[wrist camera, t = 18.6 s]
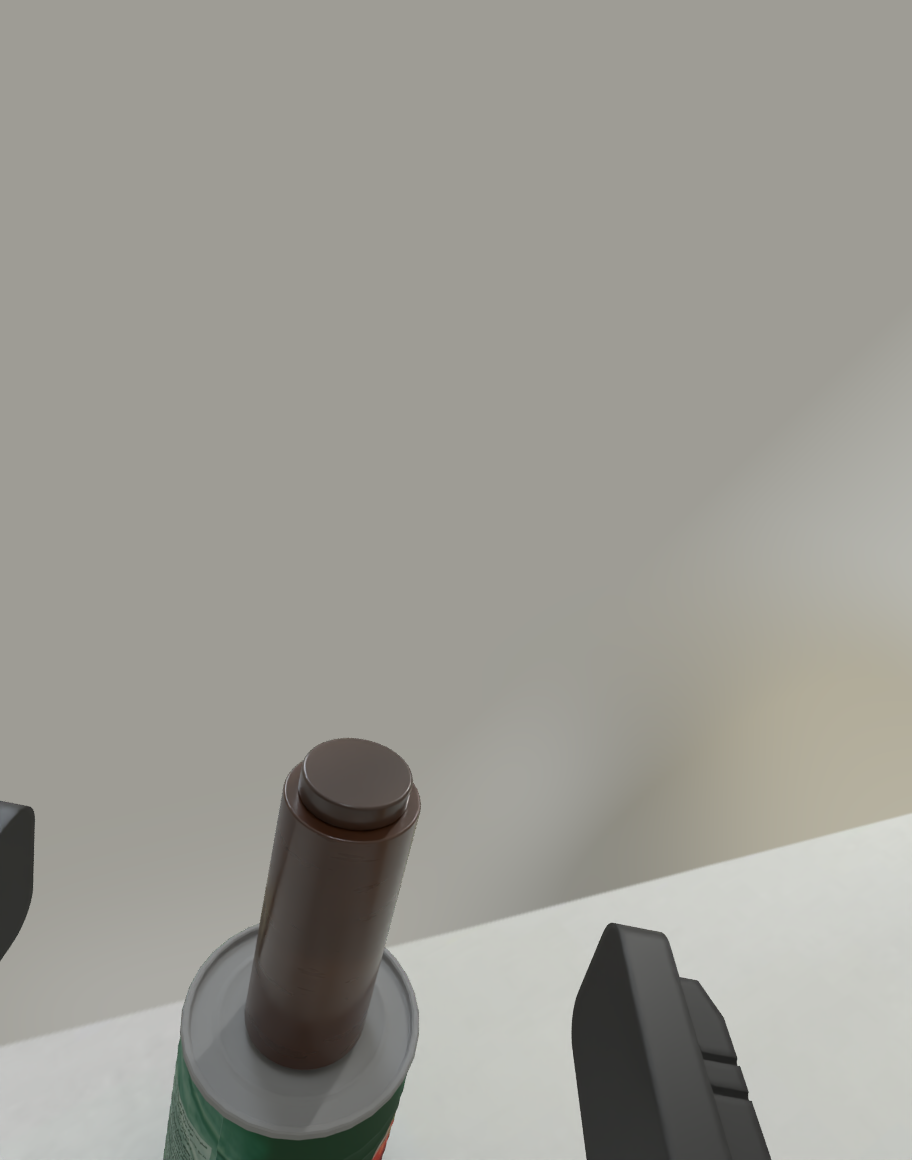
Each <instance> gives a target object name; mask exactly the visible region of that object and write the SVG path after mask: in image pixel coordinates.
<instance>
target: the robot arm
mask: <svg viewBox="0 0 912 1160" xmlns="http://www.w3.org/2000/svg"><path fill="white" fill-rule="evenodd" d="M34 827H35V816H34V811H33V809H32V808H31V807H29V806H24V805H18V804H14V803H9V802H3V801H0V960H1V959H2V958H3V956H4V955H5V953H6V952H7V950H8V949H9V947H10V946H11V944H12V943H13V941H14V940H15V938H16V936H17V935H18V933H19V931H20V929H21V927H22V925H23V923H24V920H25V918H26V915H27V912H28V909H29V906H30V903H31V898H32V893H33V866H34V865H33V864H34V863H33V862H34V829H35V828H34ZM572 1049H573V1057H574V1064H575V1072H576V1080H577V1088H578V1095H579V1103H580V1111H581V1119H582V1127H583V1134H584V1142H585V1150H586V1158H587V1160H771V1157H770V1154H769V1151H768V1148H767V1145H766V1142H765V1139H764V1136H763V1133H762V1130H761V1127H760V1124H759V1122H758V1119H757V1116H756V1113H755V1110H754V1107H753V1104H752V1101H749V1099H748V1093H749V1092H748V1089H747V1086H746V1083H745V1080H744V1077H743V1074H742V1071H741V1068H740V1066H737V1056H736V1053H735V1050H734V1047H733V1044H732V1041H731V1038H730V1035H729V1032H728V1029H727V1026H726V1023H725V1020H724V1018H723V1016H722V1015H721V1013H720V1012H719V1010H718V1009H717V1007H716V1006H715V1005H714V1003H713V1002H712V1000H711V999H710V997H709V996H708V995H707V993H706V992H705V990H704V989H703V987H702V986H701V984H700V983H699V982H698V981H697V980H692V979H686V978H681V977H679V974H678V971H677V967H676V964H675V961H674V957H673V954H672V950H671V947H670V944H669V941H668V939H667V937H666V936H665V935H664V934H663V933H662V932H657V931H652V930H646V929H641V928H636V927H631V926H626V925H621V924H616V923H610V924H608V925H607V927H606V928H605V930H604V932H603V934H602V936H601V939H600V941H599V944H598V946H597V948H596V951H595V953H594V956H593V958H592V960H591V963H590V965H589V968H588V970H587V972H586V975H585V977H584V980H583V982H582V984H581V987H580V989H579V992H578V994H577V997H576V1001H575V1005H574V1010H573V1017H572Z"/></svg>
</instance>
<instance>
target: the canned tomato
mask: <svg viewBox="0 0 912 1160" xmlns="http://www.w3.org/2000/svg"><path fill="white" fill-rule="evenodd" d="M259 925H260V923H259V924H256V925H254V926H251V927H248V928H247V929H245V930H243V931H241V932H239V933H238V934H236V935H234V936H232V937H231V938H229V939H228V940H227V941H226V942H224V943H223V944H222V945H221V946H220V947H218V948H217V949H216V950H215V951H214V952H213V953H212V954H211V955H210V956H209V958H208V959H207V960H206V961H205V962H204V964H203V965H202V966H201V967H200V969H199V970H198V972H197V974H196V976H195V978H194V979H193V982H192V983H191V985H190V987H189V990H188V993H187V996H186V999H185V1002H184V1006H183V1009H182V1017H181V1029H180V1041H179V1045H178V1055H177V1061H176V1069H175V1076H174V1083H173V1091H172V1098H171V1106H170V1113H169V1120H168V1128H167V1135H166V1143H165V1149H164V1158H163V1160H382V1155H383V1153H384V1151H385V1147H386V1142H387V1140H388V1137H389V1134H390V1130H391V1126H392V1124H393V1121H394V1117H395V1113H396V1110H397V1108H398V1105H399V1100H400V1096H401V1094H402V1092H403V1088H404V1083H405V1079H406V1075H407V1072H408V1070H409V1068H410V1066H411V1063H412V1061H413V1059H414V1056H415V1051H416V1046H417V1041H418V1036H419V1011H418V1007H417V1002H416V997H415V993H414V990H413V988H412V986H411V983H410V981H409V979H408V976H407V974H406V973H405V971H404V970H403V968H402V967H401V965H400V964H399V962H398V961H397V959H396V958H395V957H394V956H393V955H392V954H391V953H390V952H389V951H388V950H387V949H386V948H384V951H383V955H382V959H381V963H380V967H379V971H378V974H377V978H376V982H375V986H374V990H373V994H372V997H371V1001H370V1005H369V1009H368V1013H367V1016H366V1020H365V1024H364V1028H363V1031H362V1033H361V1036H360V1038H359V1039H358V1041H357V1043H356V1044H355V1046H354V1047H353V1048H352V1049H351V1050H350V1051H349V1052H348V1053H347V1054H346V1055H345V1056H344V1057H342V1058H341V1059H340V1060H338V1061H336V1062H334V1063H333V1064H330V1065H328V1066H325V1067H322V1068H318V1069H312V1070H297V1069H290V1068H286V1067H283V1066H281V1065H278V1064H276V1063H274V1062H272V1061H271V1060H269V1059H268V1058H266V1057H265V1056H264V1055H263V1054H262V1053H261V1052H260V1051H259V1050H258V1049H257V1048H256V1047H255V1045H254V1044H253V1042H252V1040H251V1039H250V1037H249V1034H248V1032H247V1029H246V1024H245V1005H246V999H247V994H248V988H249V982H250V976H251V971H252V965H253V959H254V953H255V948H256V942H257V936H258V930H259Z"/></svg>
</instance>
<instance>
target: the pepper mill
mask: <svg viewBox="0 0 912 1160" xmlns="http://www.w3.org/2000/svg"><path fill="white" fill-rule="evenodd" d="M420 809H421V802H420V796H419V793H418V791H417V788H416V787H415V785H414V783H413V779H412V774H411V771H410V768H409V767H408V765H407V764H406V762H405V761H404V760H403V759H402V758H401V757H400V756H399V755H398V754H397V753H395V752H394V751H392V750H391V749H389V748H387V747H385V746H383V745H381V744H378V743H375V742H372V741H368V740H363V739H356V738H341V739H334V740H330V741H326V742H323V743H321V744H319V745H317V746H316V747H314V748H313V749H312V750H311V751H310V752H309V753H308V754H307V755H306V757H305V758H304V760H303V761H302V762H300V763H299V764H297V765H296V766H295V767H294V768H293V769H292V771H291V772H290V773H289V775H288V776H287V778H286V780H285V784H284V787H283V793H282V798H281V804H280V810H279V815H278V821H277V827H276V833H275V838H274V844H273V850H272V856H271V861H270V867H269V873H268V879H267V884H266V890H265V896H264V903H263V908H262V913H261V919H260V925H259V930H258V936H257V942H256V948H255V953H254V959H253V965H252V971H251V976H250V982H249V988H248V994H247V999H246V1005H245V1024H246V1029H247V1032H248V1034H249V1037H250V1039H251V1040H252V1042H253V1044H254V1045H255V1047H256V1048H257V1049H258V1050H259V1051H260V1052H261V1053H262V1054H263V1055H264V1056H265V1057H266V1058H268V1059H269V1060H271V1061H272V1062H274V1063H276V1064H278V1065H281V1066H283V1067H286V1068H290V1069H297V1070H312V1069H318V1068H322V1067H325V1066H328V1065H330V1064H333V1063H334V1062H336V1061H338V1060H340V1059H341V1058H342V1057H344V1056H345V1055H346V1054H347V1053H348V1052H349V1051H350V1050H351V1049H352V1048H353V1047H354V1046H355V1044H356V1043H357V1041H358V1039H359V1038H360V1036H361V1033H362V1031H363V1028H364V1024H365V1020H366V1016H367V1013H368V1009H369V1005H370V1001H371V997H372V994H373V990H374V986H375V982H376V978H377V974H378V971H379V967H380V963H381V959H382V955H383V951H384V948H385V944H386V940H387V936H388V932H389V928H390V925H391V921H392V917H393V913H394V909H395V905H396V902H397V898H398V894H399V890H400V886H401V883H402V878H403V875H404V871H405V867H406V864H407V860H408V856H409V852H410V848H411V844H412V841H413V836H414V833H415V829H416V825H417V821H418V818H419V814H420Z"/></svg>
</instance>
